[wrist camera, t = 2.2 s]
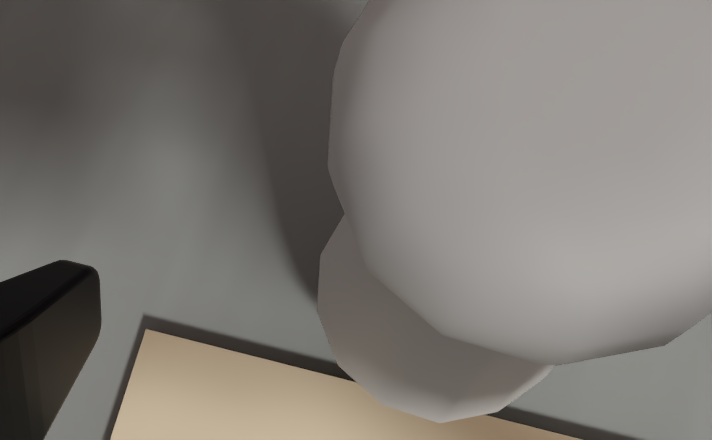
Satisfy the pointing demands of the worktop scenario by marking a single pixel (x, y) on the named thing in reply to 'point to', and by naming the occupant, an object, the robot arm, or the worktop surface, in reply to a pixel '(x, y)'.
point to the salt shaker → (515, 193)
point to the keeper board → (270, 402)
